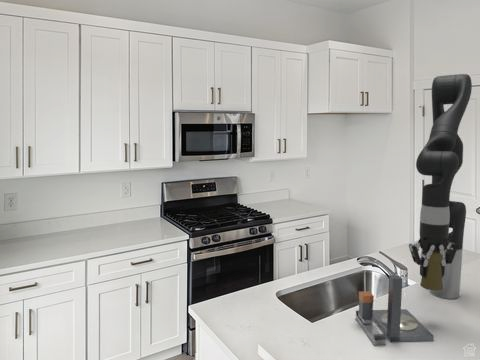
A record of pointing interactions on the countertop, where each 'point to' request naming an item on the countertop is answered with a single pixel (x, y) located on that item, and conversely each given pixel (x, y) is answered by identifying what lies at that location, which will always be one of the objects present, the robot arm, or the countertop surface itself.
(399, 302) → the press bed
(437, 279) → the cork
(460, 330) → the countertop surface
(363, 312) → the lever
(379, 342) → the lever rail
